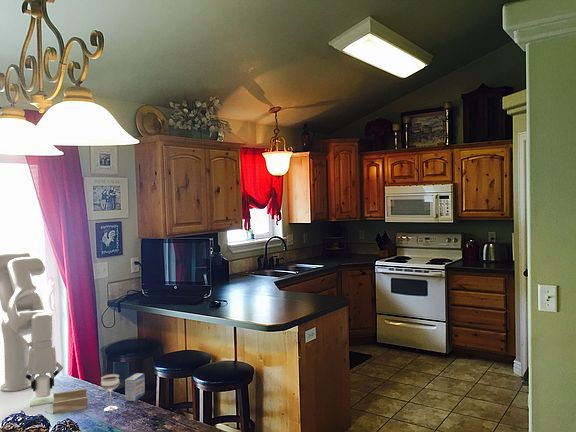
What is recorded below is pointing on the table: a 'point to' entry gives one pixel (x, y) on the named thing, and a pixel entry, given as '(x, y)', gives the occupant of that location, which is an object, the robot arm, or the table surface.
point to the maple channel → (70, 401)
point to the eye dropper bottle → (42, 385)
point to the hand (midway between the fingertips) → (42, 388)
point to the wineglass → (110, 387)
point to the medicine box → (134, 387)
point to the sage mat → (41, 400)
